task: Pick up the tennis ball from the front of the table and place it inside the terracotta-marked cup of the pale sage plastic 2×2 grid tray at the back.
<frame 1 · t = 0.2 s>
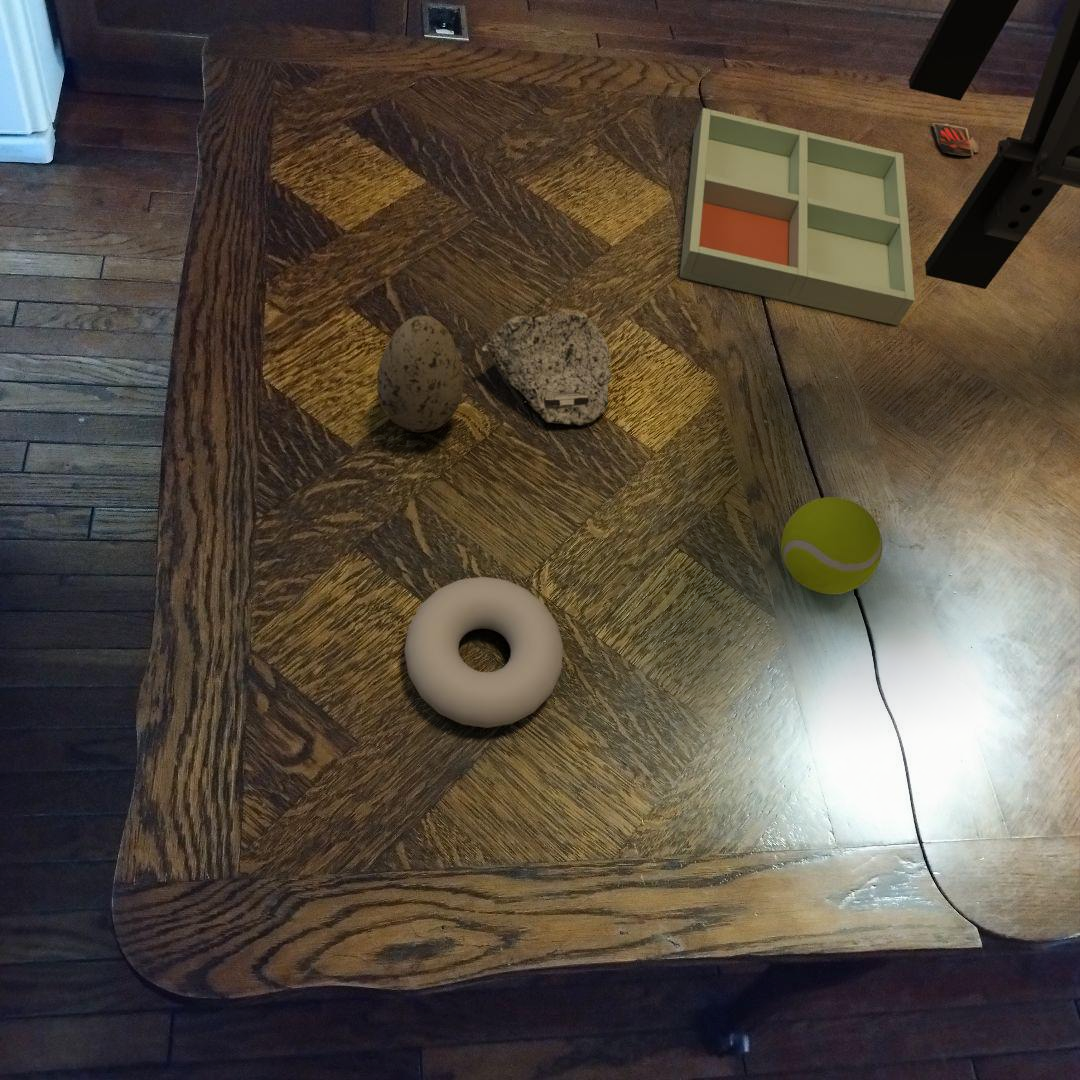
hand: (943, 177, 47), 30 cm above the table, tool pointing down, fingers open, 13 cm apart
rock sample: (561, 386, 76), on the table
donut: (481, 661, 63), on the table
tennis ball: (811, 570, 71), on the table
grid: (790, 226, 89), on the table
decorative egg: (417, 419, 72), on the table
matchbox: (953, 143, 100), on the table
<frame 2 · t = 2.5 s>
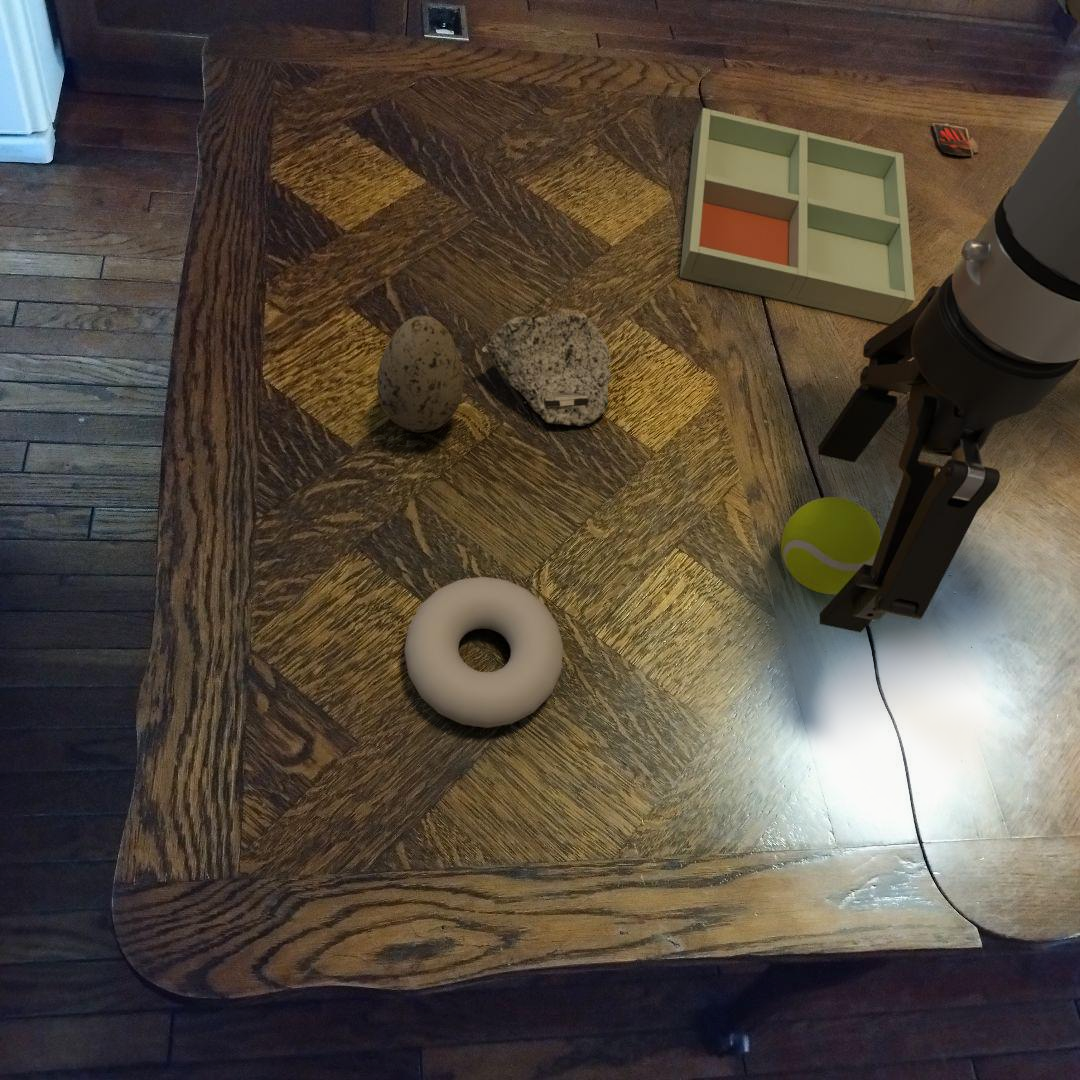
hand: (837, 534, 66), 5 cm above the table, tool pointing down, fingers open, 13 cm apart
nothing on the table moved.
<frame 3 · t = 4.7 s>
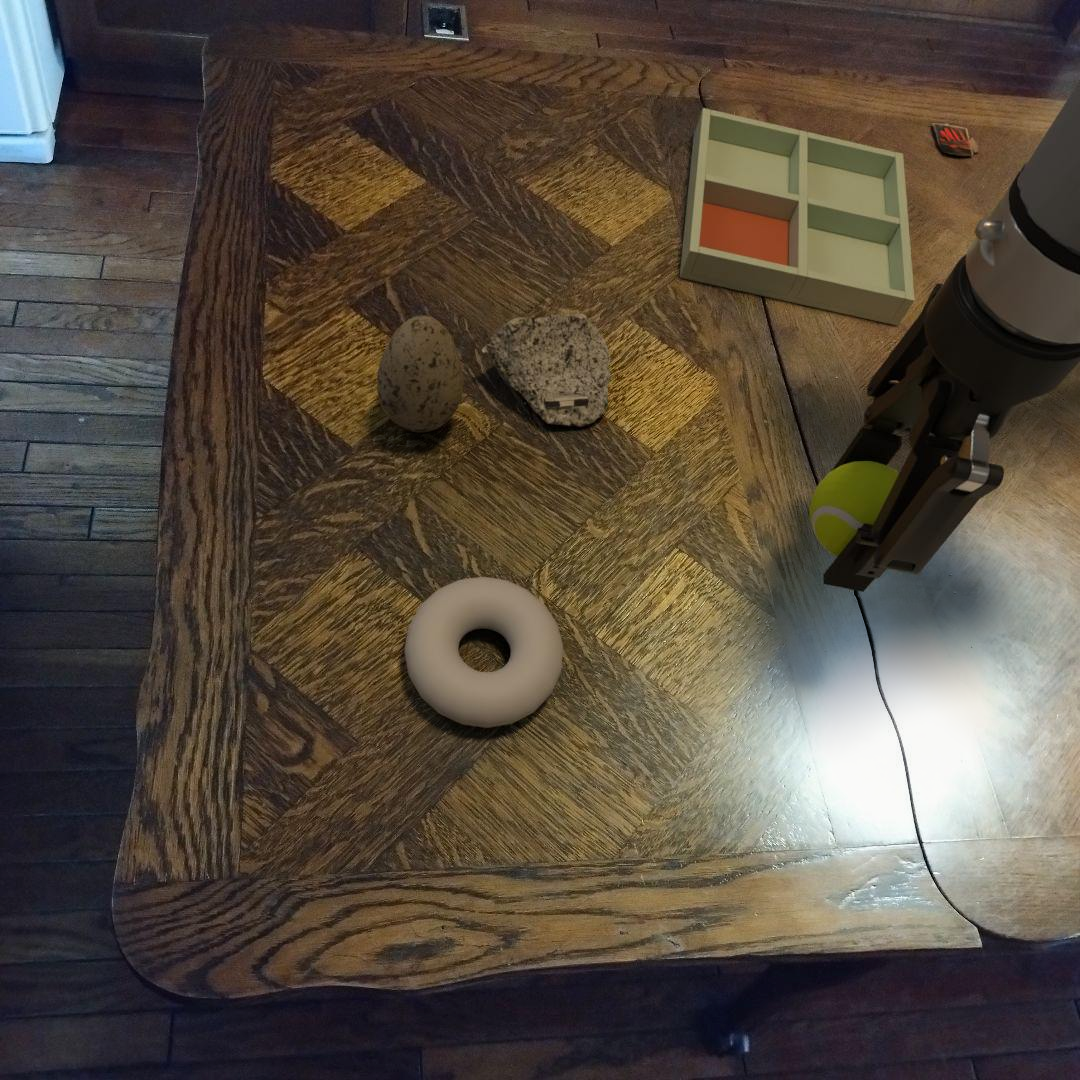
hand: (842, 535, 67), 5 cm above the table, tool pointing down, fingers closed on tennis ball, 7 cm apart
tennis ball: (841, 539, 67), point 4 cm above the table, touching gripper
everything else where it was.
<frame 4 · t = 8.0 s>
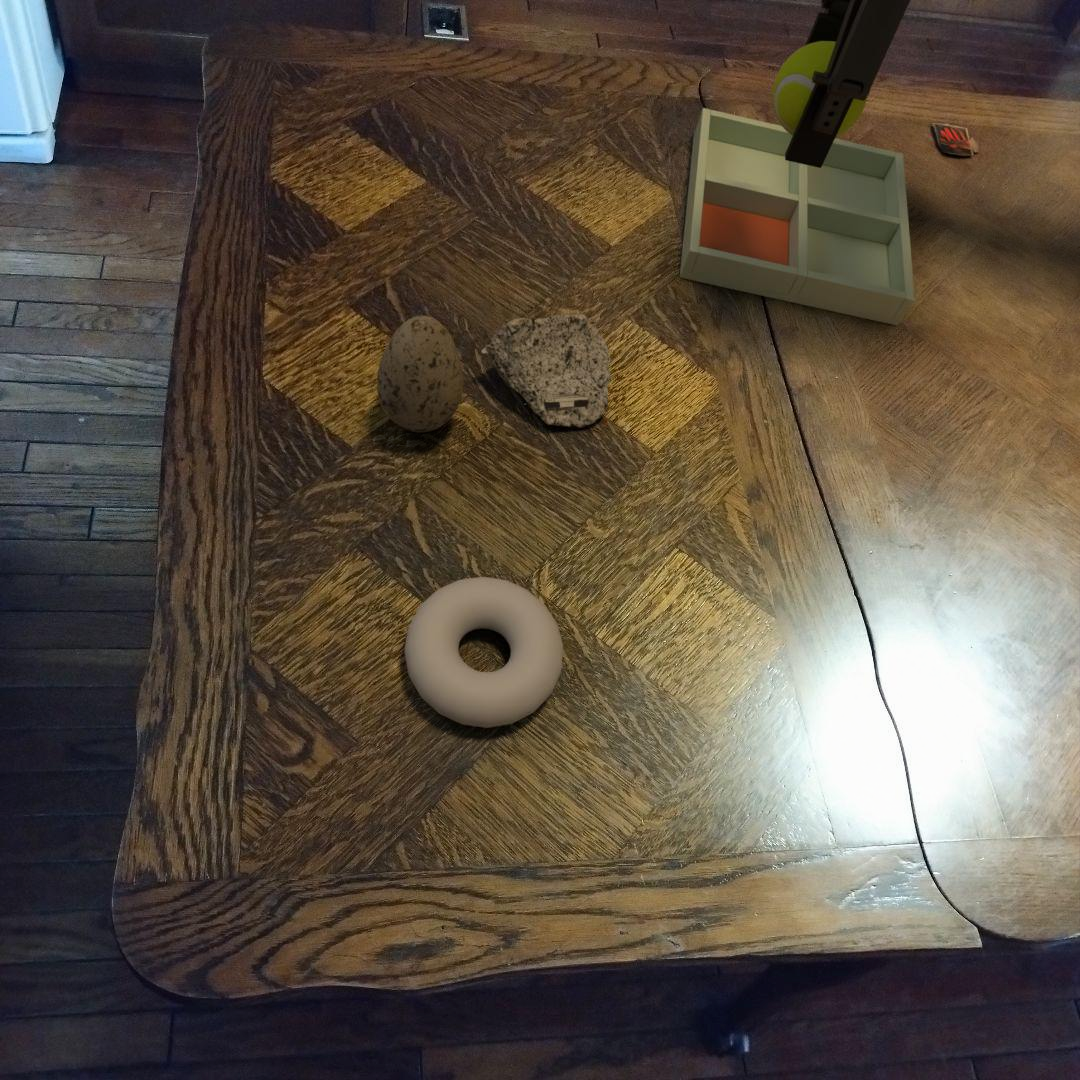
hand: (803, 128, 74), 14 cm above the table, tool pointing down, fingers closed on tennis ball, 7 cm apart
tennis ball: (801, 134, 74), point 13 cm above the table, touching gripper
everything else where it was.
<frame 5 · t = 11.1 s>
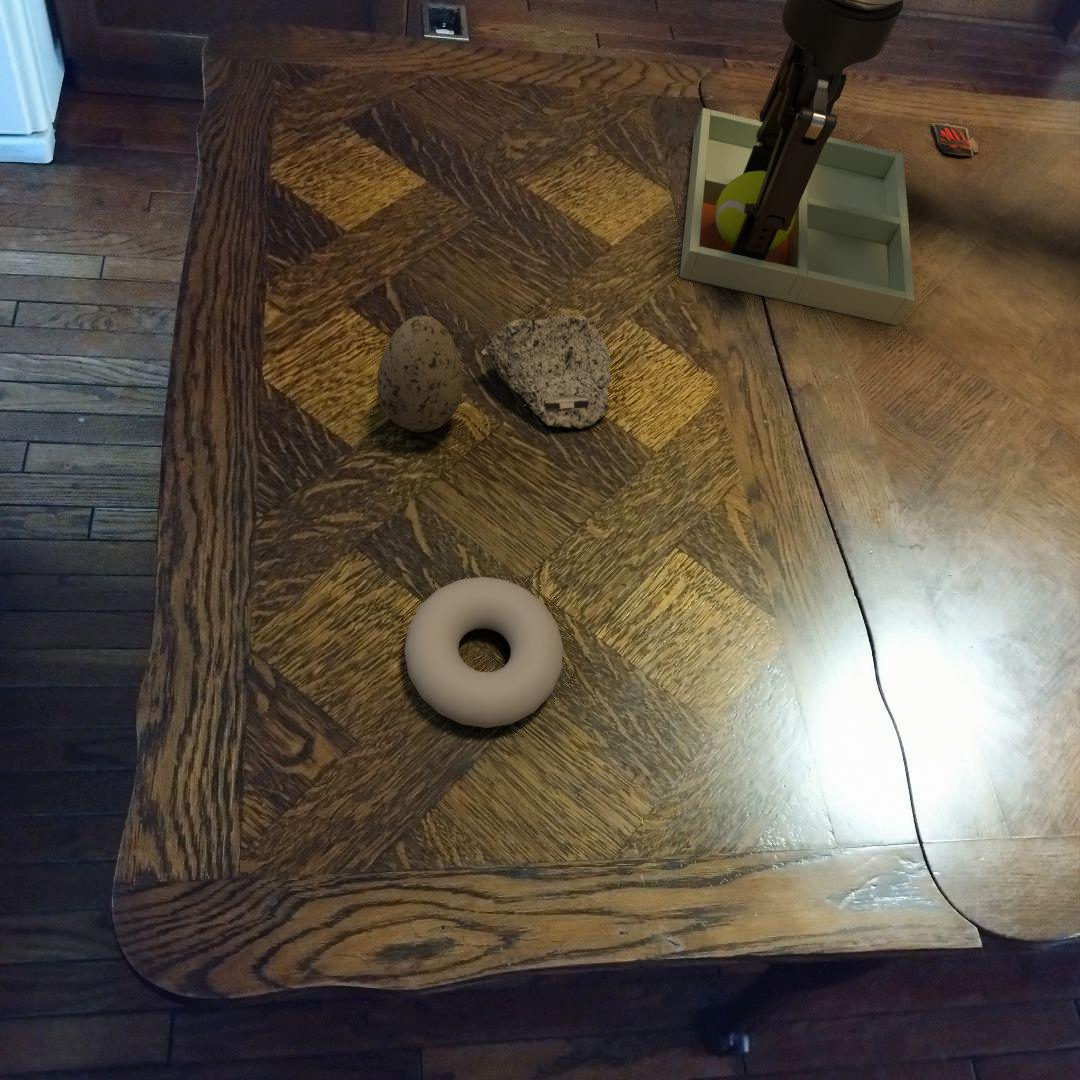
hand: (743, 240, 86), 1 cm above the table, tool pointing down, fingers closed on tennis ball, 7 cm apart
tennis ball: (741, 244, 86), point 1 cm above the table, touching gripper
everything else where it was.
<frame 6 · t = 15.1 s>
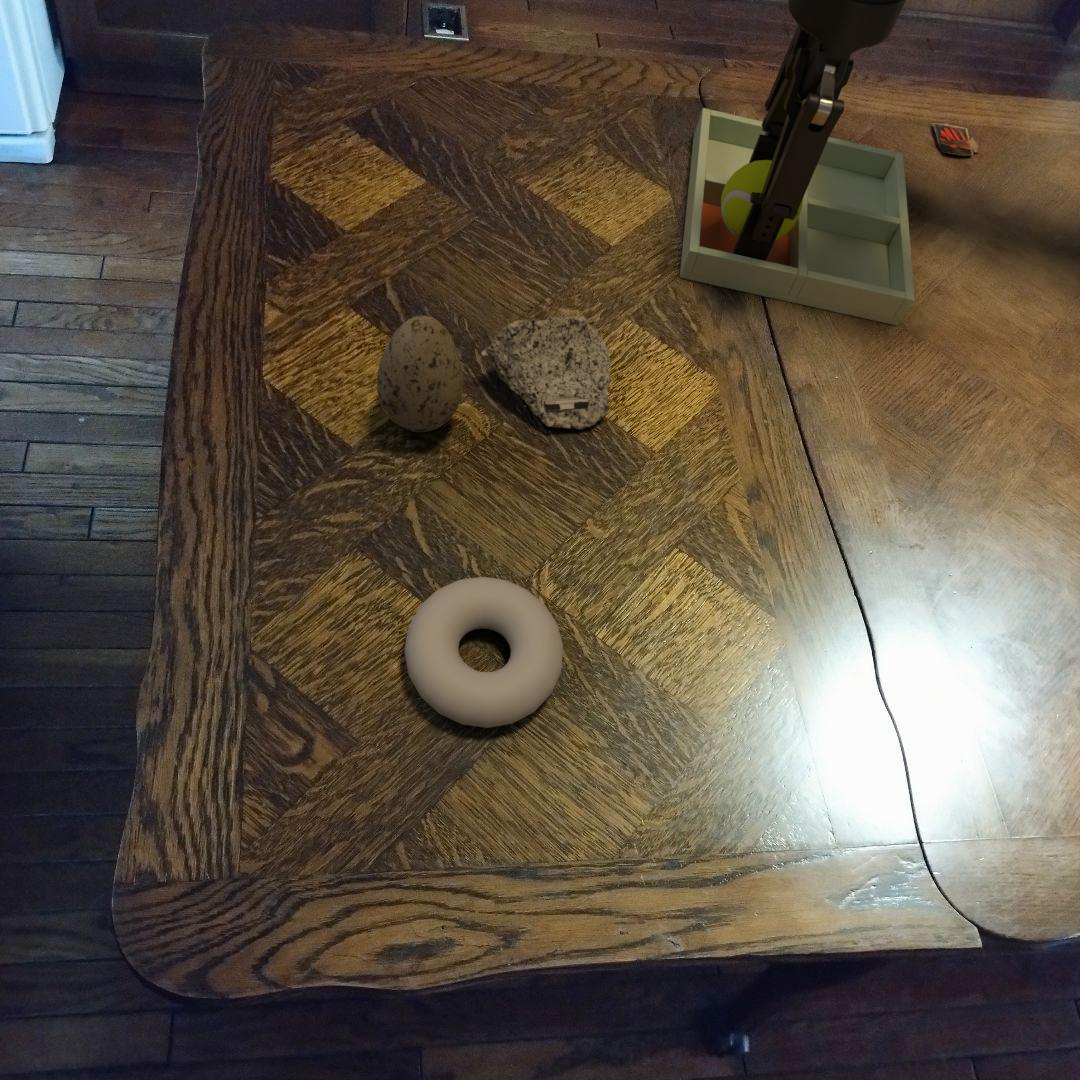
hand: (748, 231, 85), 2 cm above the table, tool pointing down, fingers closed on tennis ball, 7 cm apart
tennis ball: (747, 235, 85), point 2 cm above the table, touching gripper
everything else where it was.
when the fingers open (3 cm above the table, at t = 18.5 s): tennis ball stays where it is, resting on grid.
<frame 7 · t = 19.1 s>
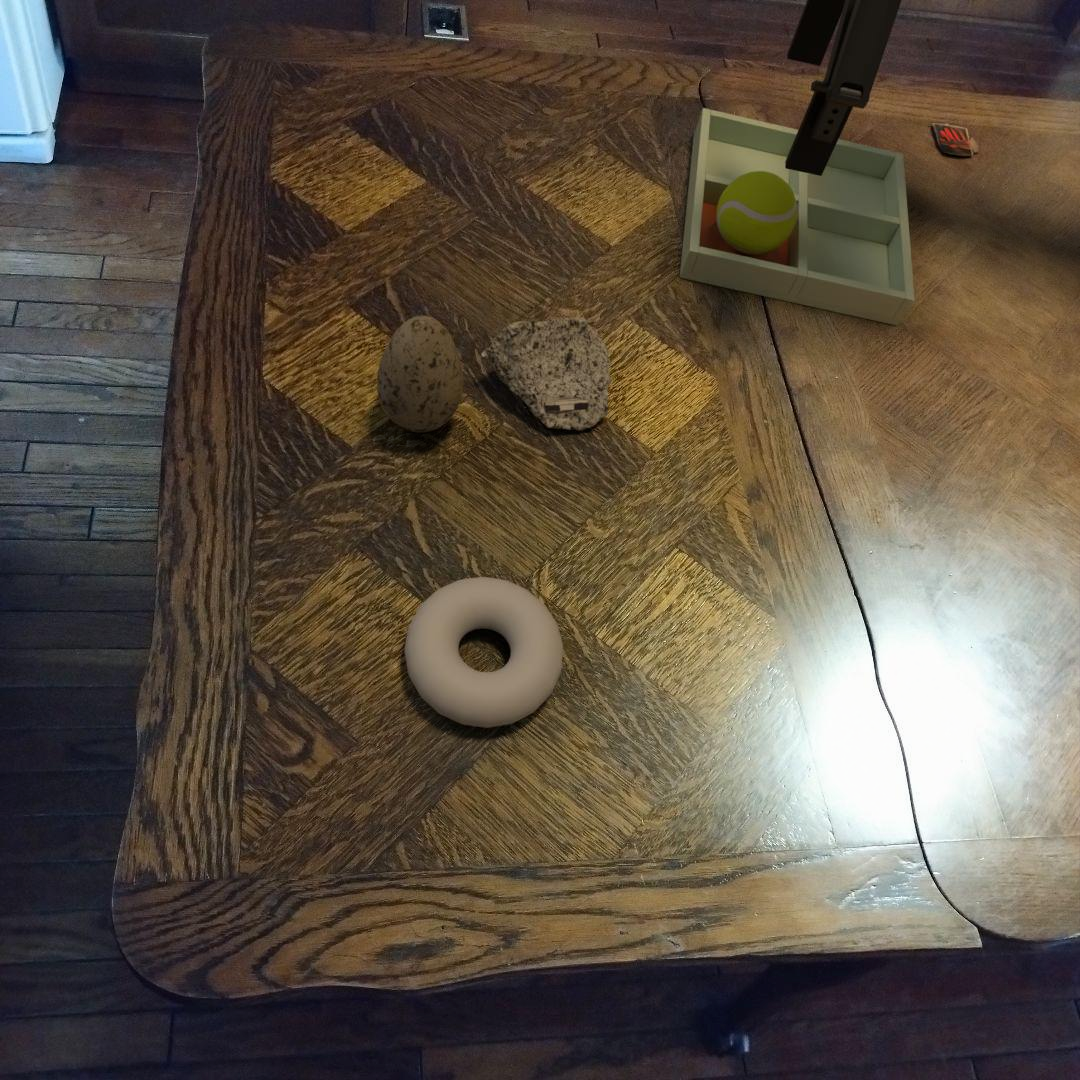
hand: (803, 112, 75), 14 cm above the table, tool pointing down, fingers open, 13 cm apart
tennis ball: (742, 245, 86), point 1 cm above the table, touching grid
everything else where it was.
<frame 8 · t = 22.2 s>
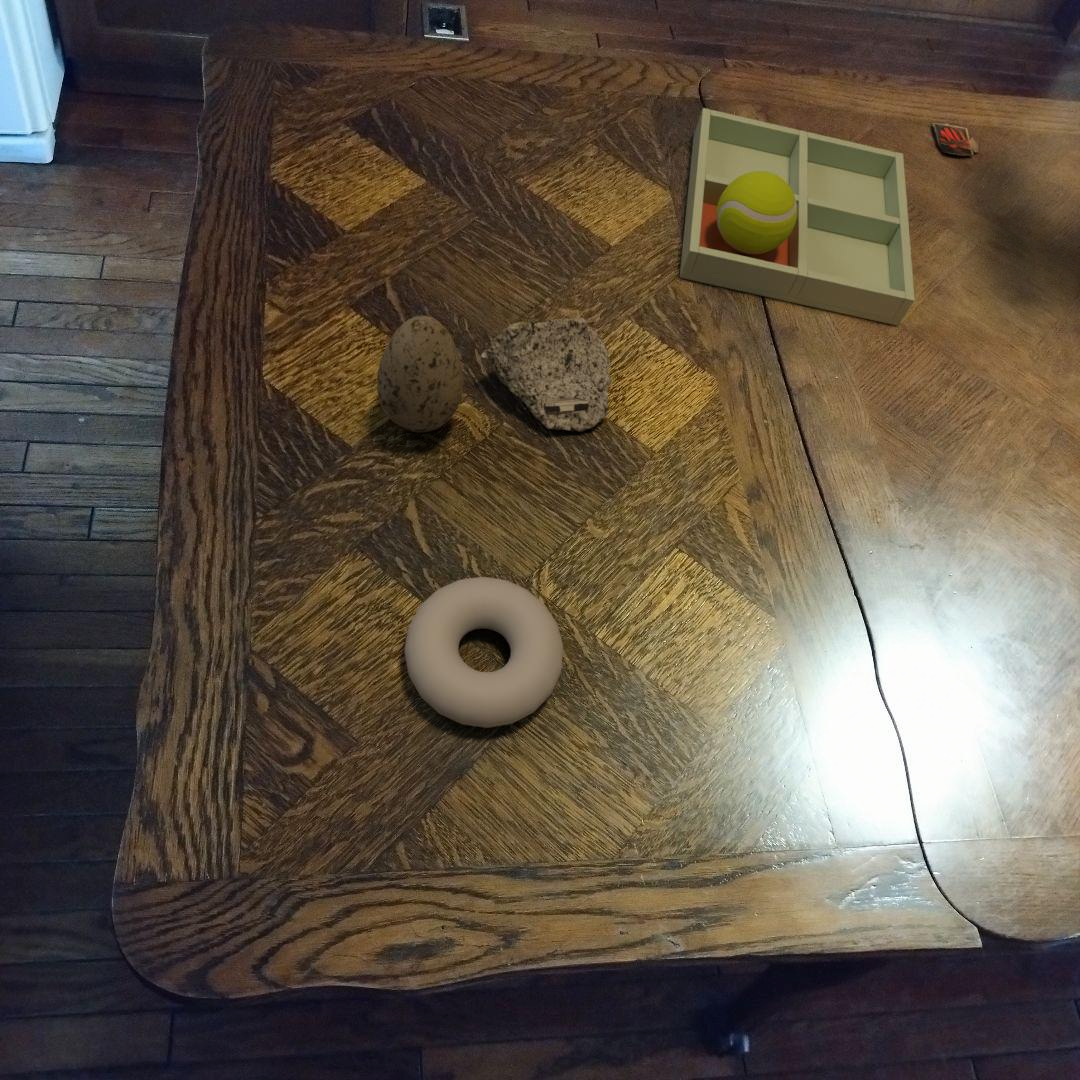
nothing on the table moved.
at the end: tennis ball 0.2 cm from the target spot on the grid, point 0.6 cm above the grid's base; the gripper is holding nothing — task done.
